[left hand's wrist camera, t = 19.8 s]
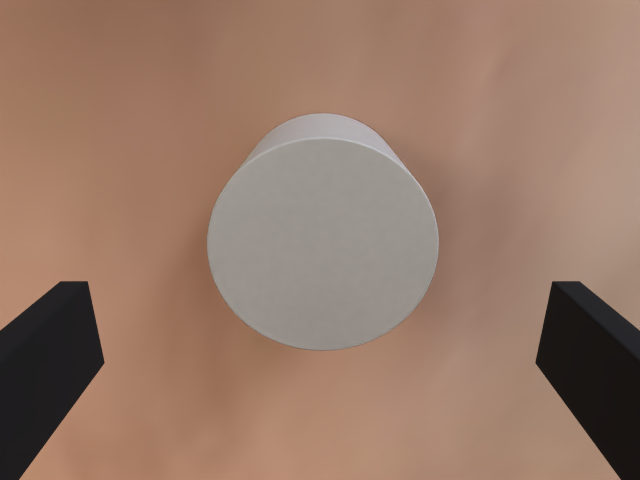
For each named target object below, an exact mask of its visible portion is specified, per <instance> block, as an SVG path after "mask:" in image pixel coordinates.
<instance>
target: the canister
mask: <svg viewBox="0 0 640 480" xmlns="http://www.w3.org/2000/svg"><path fill="white" fill-rule="evenodd" d="M438 248H439V238H438V227H437V223H436V219H435V215H434V212H433V209H432V207H431V204H430V202H429V199H428V198H427V196H426V194H425V192H424V191H423V189H422V187H421V186H420V185H419V183H418V182H417V181H416V179H415V178H414V177H413V176H412V174H411V173H410V172H409V171H408V169H407V168H406V167H405V166H404V164H403V163H402V162H401V161H400V159H399V158H398V157H397V156H396V154H395V153H394V152H393V151H392V149H391V148H390V147H389V146H388V144H387V143H386V142H385V141H384V140H383V139H382V138H381V137H380V136H379V135H378V134H377V133H376V132H375V131H373V130H372V129H371V128H369V127H368V126H366V125H364V124H362V123H361V122H359V121H357V120H354V119H351V118H349V117H346V116H341V115H337V114H327V113H319V114H309V115H304V116H299V117H297V118H294V119H291V120H288V121H286V122H284V123H282V124H280V125H279V126H277V127H276V128H274V129H273V130H271V131H270V132H269V133H268V134H267V135H266V136H265V137H264V138H262V140H261V141H260V142H259V143H258V144H257V146H256V147H255V148H254V149H253V151H252V152H251V153H250V154H249V156H248V157H247V158H246V160H245V161H244V162H243V163H242V165H241V166H240V167H239V169H238V170H237V171H236V172H235V174H234V175H233V176H232V177H231V179H230V180H229V181H228V183H227V184H226V185H225V187H224V189H223V190H222V192H221V193H220V195H219V197H218V199H217V201H216V203H215V206H214V208H213V210H212V214H211V218H210V221H209V225H208V233H207V255H208V261H209V267H210V270H211V273H212V276H213V280H214V282H215V284H216V286H217V288H218V290H219V292H220V294H221V296H222V297H223V299H224V300H225V302H226V303H227V305H228V306H229V307H230V308H231V309H232V311H233V312H234V313H235V314H236V315H237V316H238V317H239V318H240V319H241V320H242V321H243V322H244V323H245V324H247V325H248V326H249V327H251V328H252V329H254V330H255V331H256V332H258V333H260V334H262V335H263V336H265V337H267V338H269V339H271V340H274V341H276V342H278V343H281V344H284V345H287V346H291V347H294V348H300V349H306V350H317V351H327V350H339V349H346V348H351V347H354V346H358V345H362V344H364V343H367V342H369V341H372V340H374V339H376V338H378V337H380V336H382V335H384V334H386V333H387V332H389V331H390V330H392V329H393V328H395V327H396V326H397V325H399V324H400V323H401V322H402V321H403V320H404V319H405V318H407V317H408V316H409V315H410V313H411V312H412V311H413V310H414V309H415V308H416V307H417V305H418V304H419V302H420V301H421V299H422V298H423V296H424V295H425V293H426V291H427V289H428V287H429V285H430V283H431V281H432V278H433V275H434V272H435V269H436V264H437V259H438Z"/></svg>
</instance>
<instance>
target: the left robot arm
mask: <svg viewBox="0 0 640 480" xmlns="http://www.w3.org/2000/svg"><path fill="white" fill-rule="evenodd" d="M103 364H104V358H103V353H102V348H101V343H100V339H99V334H98V329H97V324H96V319H95V315H94V310H93V305H92V300H91V295H90V291H89V286H88V281H60V282H59V283H58V284H57V285H56V286H54V287H53V288H52V289H51V290H49V291H48V292H47V293H46V294H45V295H43V296H42V297H41V298H40V299H38V300H37V301H36V302H35V303H34V304H32V305H31V306H30V307H29V308H27V309H26V310H25V311H24V312H23V313H21V314H20V315H19V316H18V317H16V318H15V319H14V320H13V321H12V322H10V323H9V324H8V325H7V326H5V327H4V328H3V329H2V330H1V331H0V480H19V479H20V478H21V476H22V475H23V473H24V472H25V471H26V469H27V468H28V467H29V465H30V464H31V463H32V461H33V460H34V458H35V457H36V456H37V454H38V453H39V452H40V450H41V449H42V448H43V446H44V445H45V443H46V442H47V441H48V439H49V438H50V437H51V435H52V434H53V433H54V431H55V430H56V428H57V427H58V426H59V424H60V423H61V422H62V420H63V419H64V418H65V416H66V415H67V413H68V412H69V411H70V409H71V408H72V407H73V405H74V404H75V403H76V401H77V400H78V398H79V397H80V396H81V394H82V393H83V392H84V390H85V389H86V388H87V386H88V385H89V383H90V382H91V381H92V379H93V378H94V377H95V375H96V374H97V373H98V371H99V370H100V368H101V367H102V366H103ZM536 364H537V366H538V367H539V368H540V370H541V371H542V373H543V374H544V375H545V377H546V378H547V379H548V381H549V382H550V383H551V385H552V386H553V388H554V389H555V390H556V392H557V393H558V394H559V396H560V397H561V398H562V400H563V401H564V403H565V404H566V405H567V407H568V408H569V409H570V411H571V412H572V413H573V415H574V416H575V418H576V419H577V420H578V422H579V423H580V424H581V426H582V427H583V428H584V430H585V431H586V433H587V434H588V435H589V437H590V438H591V439H592V441H593V442H594V443H595V445H596V446H597V448H598V449H599V450H600V452H601V453H602V454H603V456H604V457H605V458H606V460H607V461H608V463H609V464H610V465H611V467H612V468H613V469H614V471H615V472H616V473H617V475H618V476H619V478H620V479H621V480H640V331H639V330H638V329H637V328H636V327H635V326H633V325H632V324H631V323H630V322H628V321H627V320H626V319H625V318H624V317H622V316H621V315H620V314H619V313H617V312H616V311H615V310H614V309H613V308H611V307H610V306H609V305H608V304H606V303H605V302H604V301H603V300H602V299H600V298H599V297H598V296H597V295H595V294H594V293H593V292H592V291H591V290H589V289H588V288H587V287H586V286H584V285H583V284H582V283H581V282H580V281H552V286H551V290H550V295H549V300H548V305H547V310H546V315H545V319H544V324H543V329H542V334H541V339H540V343H539V348H538V353H537V358H536Z"/></svg>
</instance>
